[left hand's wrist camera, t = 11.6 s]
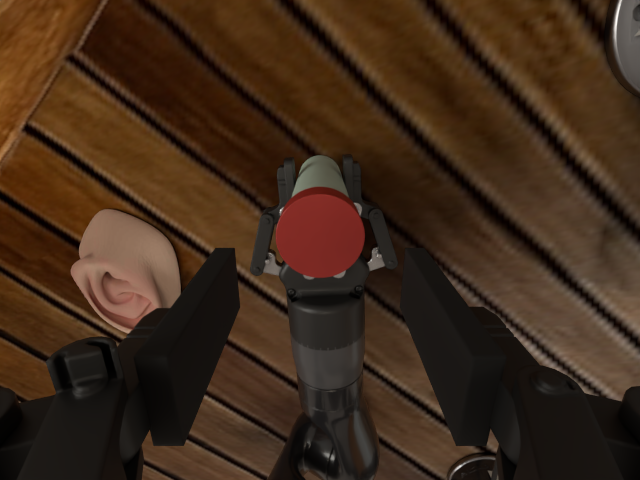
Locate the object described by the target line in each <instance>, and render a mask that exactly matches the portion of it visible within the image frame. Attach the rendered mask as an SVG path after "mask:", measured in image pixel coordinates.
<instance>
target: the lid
mask: <svg viewBox="0 0 640 480" xmlns="http://www.w3.org/2000/svg"><path fill="white" fill-rule="evenodd" d="M364 241H365V231H364V226H363V223H362V220H361V217H360V215H359V212H358V210H357V208H356V206H355V204H354V203H353V202H352V200H351V199H350V198H349V197H348V196H346V195H345V194H344V193H342V192H340V191H338V190H336V189H333V188H329V187H311V188H308V189H305V190H302V191H300V192H299V193H297V194H296V195H294V196H293V197H292V198H291V199H290V200H289V201H288V202H287V204H286V205H285V207H284V208H283V211H282V213H281V216H280V219H279V221H278V224H277V228H276V244H277V248H278V251H279V253H280V255H281V257H282V258H283V260H284V261H285V262H286V263H287V264H288V265H289V266H290V267H291V268H292V269H294V270H295V271H297V272H299V273H301V274H303V275H306V276H309V277H315V278H325V277H331V276H335V275H337V274H340V273H342V272H344V271H345V270H347V269H348V268H349V267H351V266H352V265H353V264H354V263H355V261H356V260H357V259H358V257H359V256H360V254H361V252H362V249H363V246H364Z"/></svg>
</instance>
